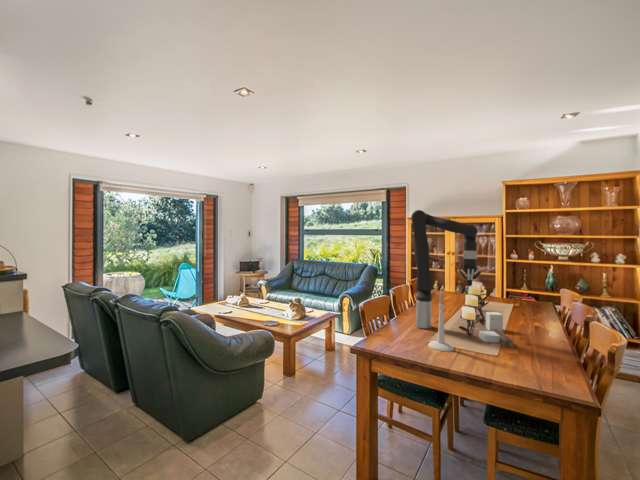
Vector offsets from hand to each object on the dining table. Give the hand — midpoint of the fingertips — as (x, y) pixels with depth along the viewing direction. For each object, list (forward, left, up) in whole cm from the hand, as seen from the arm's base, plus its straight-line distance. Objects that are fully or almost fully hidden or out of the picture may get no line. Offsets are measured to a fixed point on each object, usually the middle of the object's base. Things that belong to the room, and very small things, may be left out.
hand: (469, 286), depth 190 cm
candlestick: (-24, -29, -29) cm, 47 cm away
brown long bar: (+13, -14, -28) cm, 34 cm away
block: (+7, -13, -29) cm, 32 cm away
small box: (+17, +6, -29) cm, 34 cm away
